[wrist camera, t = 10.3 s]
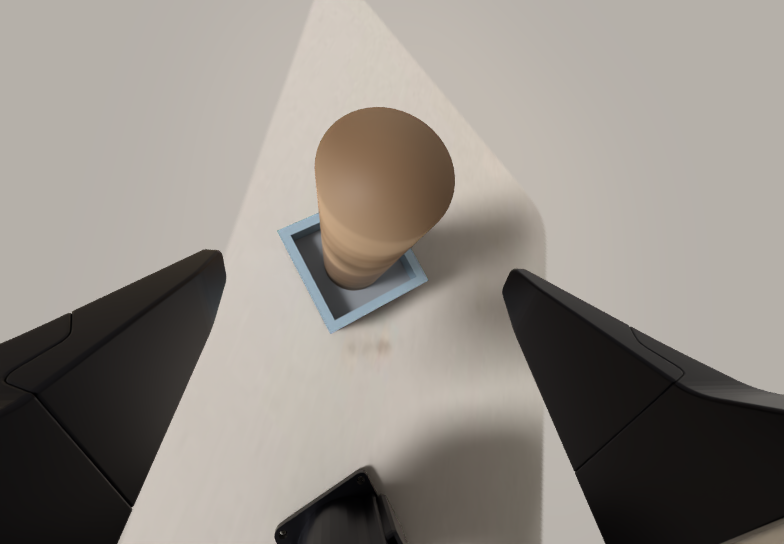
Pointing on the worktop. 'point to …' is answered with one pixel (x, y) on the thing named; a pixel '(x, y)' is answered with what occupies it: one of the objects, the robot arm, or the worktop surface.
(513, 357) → the worktop surface
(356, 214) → the pillar
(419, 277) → the light blue open box
